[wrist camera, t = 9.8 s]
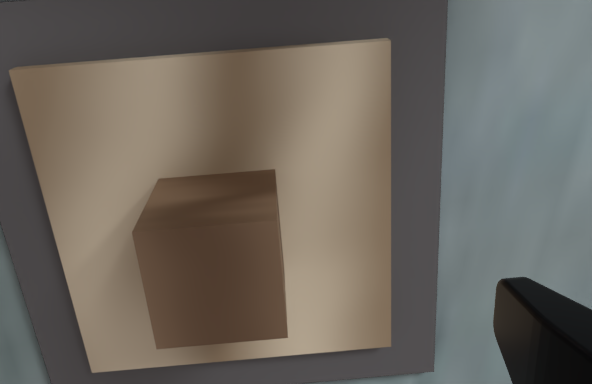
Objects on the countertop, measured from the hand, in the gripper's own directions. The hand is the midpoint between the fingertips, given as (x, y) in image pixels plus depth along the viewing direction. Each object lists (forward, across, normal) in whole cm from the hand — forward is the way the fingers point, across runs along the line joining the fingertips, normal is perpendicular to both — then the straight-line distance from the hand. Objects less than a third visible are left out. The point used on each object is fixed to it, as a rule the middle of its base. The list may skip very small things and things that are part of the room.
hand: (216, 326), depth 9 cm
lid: (+11, +1, +4) cm, 12 cm away
